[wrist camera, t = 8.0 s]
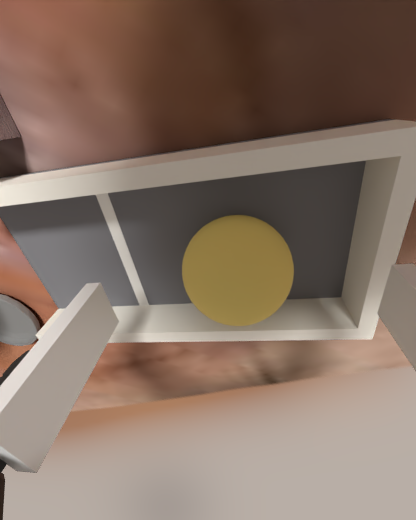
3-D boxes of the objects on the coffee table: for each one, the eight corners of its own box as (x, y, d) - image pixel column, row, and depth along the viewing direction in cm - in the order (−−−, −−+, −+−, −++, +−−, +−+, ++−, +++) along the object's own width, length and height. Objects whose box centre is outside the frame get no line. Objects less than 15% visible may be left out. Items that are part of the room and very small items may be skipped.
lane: (67, 312, 22) (42, 343, 19) (-14, 179, 16) (-71, 196, 13) (350, 301, 18) (372, 339, 15) (389, 118, 12) (438, 123, 9)
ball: (199, 282, 18) (184, 351, 13) (183, 205, 15) (155, 256, 10) (283, 277, 17) (301, 350, 12) (285, 193, 14) (311, 244, 9)
